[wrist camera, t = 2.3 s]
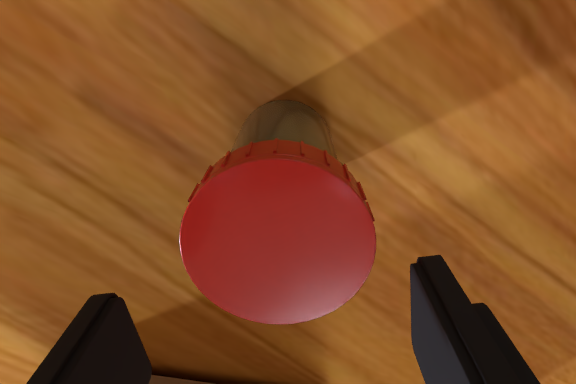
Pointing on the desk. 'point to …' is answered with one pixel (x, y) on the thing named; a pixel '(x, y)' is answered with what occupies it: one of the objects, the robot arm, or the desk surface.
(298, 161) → the jam lid
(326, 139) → the jam jar
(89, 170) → the desk surface
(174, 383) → the photo frame
